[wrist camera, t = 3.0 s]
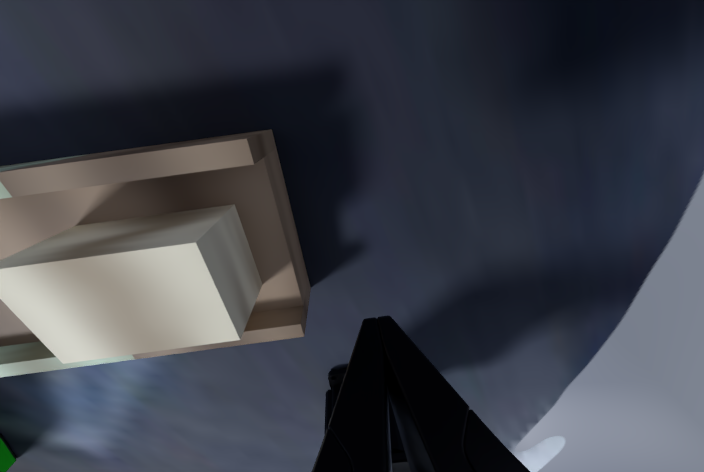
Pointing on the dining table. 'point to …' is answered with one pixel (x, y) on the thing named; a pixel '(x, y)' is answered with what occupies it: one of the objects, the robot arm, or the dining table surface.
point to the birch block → (135, 284)
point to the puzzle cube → (5, 456)
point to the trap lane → (154, 199)
